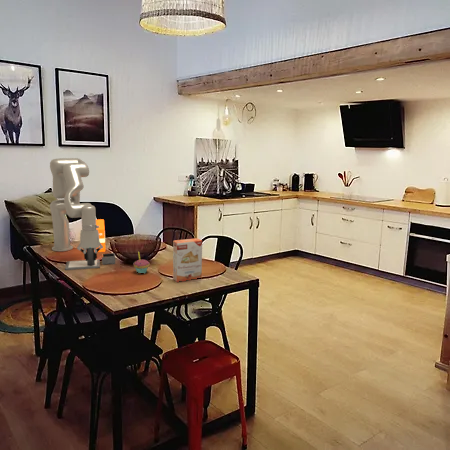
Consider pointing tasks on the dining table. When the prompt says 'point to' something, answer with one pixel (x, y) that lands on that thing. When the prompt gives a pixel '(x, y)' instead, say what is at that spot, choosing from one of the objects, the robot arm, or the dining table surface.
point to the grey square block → (108, 258)
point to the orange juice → (101, 233)
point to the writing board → (81, 265)
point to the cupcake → (141, 265)
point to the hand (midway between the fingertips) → (90, 259)
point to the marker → (90, 256)
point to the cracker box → (187, 259)
